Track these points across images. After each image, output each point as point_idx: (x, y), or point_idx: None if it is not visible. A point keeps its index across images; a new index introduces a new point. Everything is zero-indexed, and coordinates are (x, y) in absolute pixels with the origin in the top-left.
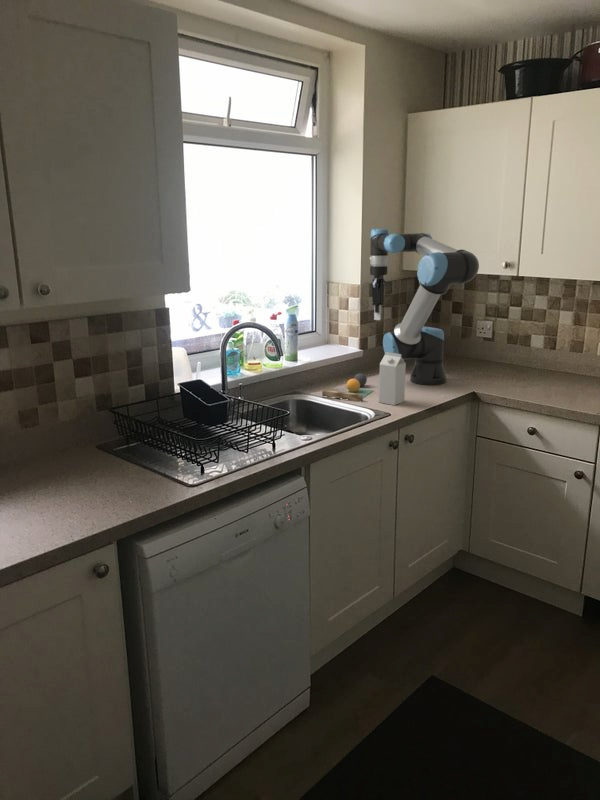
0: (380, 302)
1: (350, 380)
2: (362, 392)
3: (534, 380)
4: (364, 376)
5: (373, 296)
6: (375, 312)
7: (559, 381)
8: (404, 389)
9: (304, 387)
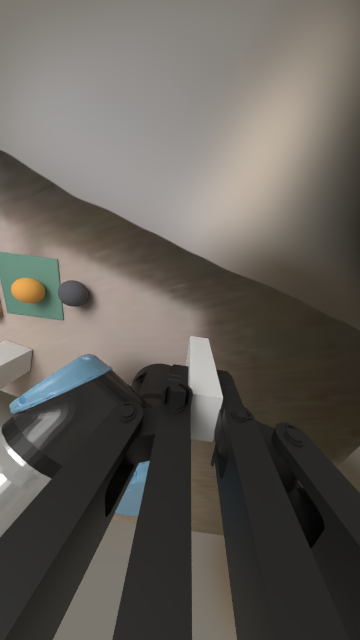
0: (217, 460)
1: (11, 287)
2: (42, 306)
3: (204, 494)
4: (66, 304)
5: (22, 533)
6: (172, 367)
7: (206, 512)
8: (11, 381)
9: (21, 178)
